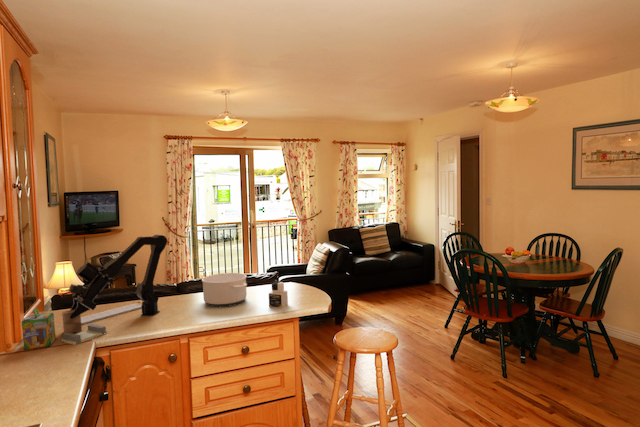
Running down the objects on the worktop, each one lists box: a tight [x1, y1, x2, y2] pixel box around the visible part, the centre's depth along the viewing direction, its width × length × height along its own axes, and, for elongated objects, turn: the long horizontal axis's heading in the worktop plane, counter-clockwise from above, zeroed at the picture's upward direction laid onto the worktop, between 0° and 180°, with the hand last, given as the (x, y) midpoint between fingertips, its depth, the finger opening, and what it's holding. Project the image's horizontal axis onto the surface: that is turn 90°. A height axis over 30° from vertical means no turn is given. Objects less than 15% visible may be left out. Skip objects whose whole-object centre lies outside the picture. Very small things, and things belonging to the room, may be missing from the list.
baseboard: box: [80, 301, 142, 326], centre depth 203 cm, size 31×3×12 cm
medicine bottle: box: [268, 281, 289, 309], centre depth 206 cm, size 7×7×12 cm
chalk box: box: [21, 307, 57, 351], centre depth 164 cm, size 9×9×15 cm
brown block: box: [61, 309, 83, 334], centre depth 178 cm, size 6×4×9 cm
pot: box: [201, 272, 248, 308], centre depth 216 cm, size 33×23×14 cm
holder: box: [60, 323, 108, 345], centre depth 171 cm, size 14×9×3 cm, turn 153°
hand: (69, 317), depth 177 cm, fingers closed on brown block, 4 cm apart
